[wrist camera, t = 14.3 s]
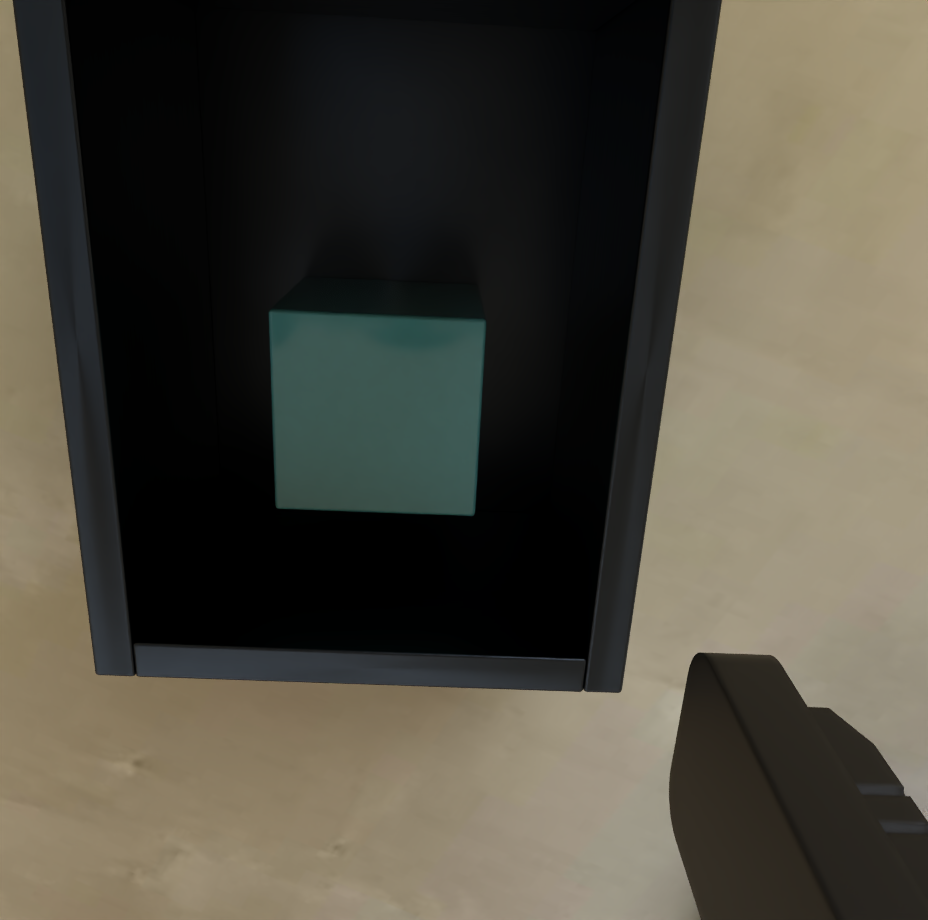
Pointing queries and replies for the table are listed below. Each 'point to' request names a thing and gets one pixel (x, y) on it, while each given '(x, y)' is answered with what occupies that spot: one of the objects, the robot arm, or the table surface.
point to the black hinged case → (363, 257)
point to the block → (377, 395)
